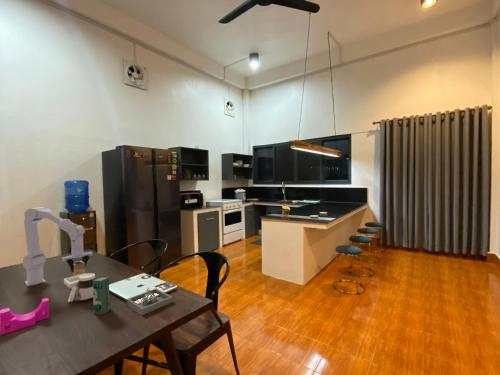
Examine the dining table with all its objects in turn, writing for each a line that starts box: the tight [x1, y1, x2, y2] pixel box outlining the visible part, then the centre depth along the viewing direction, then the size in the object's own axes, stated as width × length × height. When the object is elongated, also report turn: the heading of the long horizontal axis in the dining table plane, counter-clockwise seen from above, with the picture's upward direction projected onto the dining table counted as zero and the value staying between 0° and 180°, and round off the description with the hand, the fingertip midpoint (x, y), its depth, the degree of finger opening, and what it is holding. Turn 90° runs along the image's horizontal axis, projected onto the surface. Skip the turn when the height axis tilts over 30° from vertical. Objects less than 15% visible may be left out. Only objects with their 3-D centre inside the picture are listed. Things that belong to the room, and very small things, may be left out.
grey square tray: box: [126, 287, 173, 317], centre depth 120 cm, size 15×15×3 cm
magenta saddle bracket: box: [0, 297, 50, 336], centre depth 105 cm, size 15×6×8 cm, turn 134°
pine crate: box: [70, 260, 86, 276], centre depth 145 cm, size 7×5×6 cm
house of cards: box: [141, 287, 158, 305], centre depth 118 cm, size 9×9×8 cm
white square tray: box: [63, 272, 87, 290], centre depth 145 cm, size 11×11×3 cm
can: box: [92, 275, 111, 316], centre depth 114 cm, size 6×6×15 cm
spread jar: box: [67, 272, 96, 303], centre depth 125 cm, size 12×11×12 cm
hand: (78, 270), depth 145 cm, fingers closed on pine crate, 5 cm apart
